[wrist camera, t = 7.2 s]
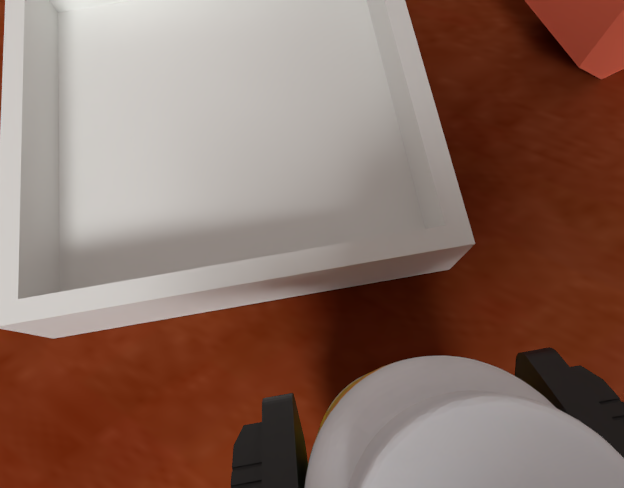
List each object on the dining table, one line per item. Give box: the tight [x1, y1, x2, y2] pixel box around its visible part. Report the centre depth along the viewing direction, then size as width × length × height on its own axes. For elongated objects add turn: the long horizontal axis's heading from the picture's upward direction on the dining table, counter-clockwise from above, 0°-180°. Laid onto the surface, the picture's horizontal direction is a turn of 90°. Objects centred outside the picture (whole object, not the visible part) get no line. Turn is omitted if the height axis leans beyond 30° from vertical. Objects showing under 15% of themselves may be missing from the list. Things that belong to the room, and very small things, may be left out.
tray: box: [0, 0, 475, 339], centre depth 19 cm, size 16×16×4 cm
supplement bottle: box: [305, 355, 624, 488], centre depth 10 cm, size 5×5×10 cm
